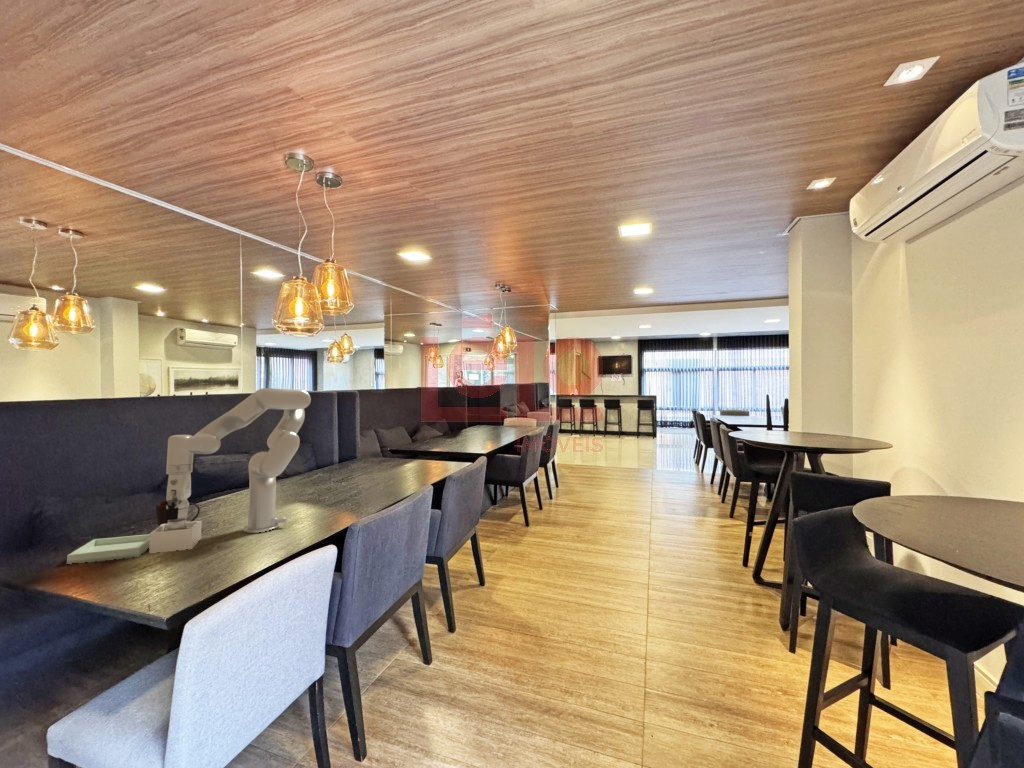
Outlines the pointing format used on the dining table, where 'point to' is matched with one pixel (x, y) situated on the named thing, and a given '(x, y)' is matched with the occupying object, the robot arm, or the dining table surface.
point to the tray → (110, 549)
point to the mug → (162, 511)
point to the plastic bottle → (179, 517)
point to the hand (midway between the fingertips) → (176, 516)
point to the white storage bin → (175, 538)
